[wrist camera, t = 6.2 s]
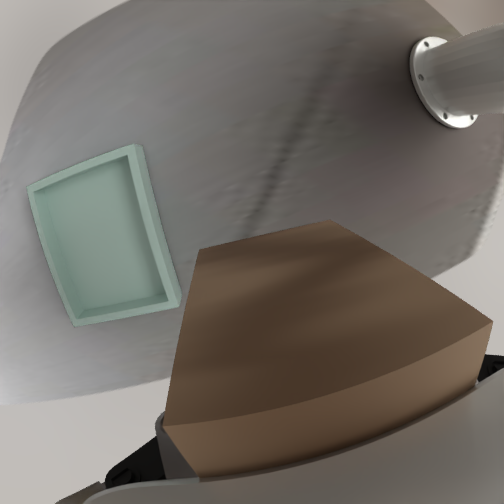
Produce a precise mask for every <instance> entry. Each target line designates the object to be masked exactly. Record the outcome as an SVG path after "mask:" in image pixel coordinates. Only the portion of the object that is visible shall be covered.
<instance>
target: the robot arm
mask: <svg viewBox="0 0 504 504" xmlns="http://www.w3.org/2000/svg"><path fill="white" fill-rule="evenodd" d="M410 72H411V77H412V81H413V84H414V86H415V89H416V92H417V94H418V96H419V98H420V100H421V101H422V103H423V104H424V106H425V107H426V109H427V110H428V111H429V112H430V114H431V115H432V116H433V117H434V118H436V119H437V120H438V121H439V122H440V123H442V124H444V125H445V126H448V127H450V128H456V129H458V128H466V127H469V126H470V125H471V124H473V123H474V121H475V120H476V118H477V116H478V115H482V114H498V113H504V22H503V23H500V24H497V25H494V26H491V27H487V28H484V29H481V30H479V31H476V32H472V33H470V34H467V35H464V36H461V37H459V38H456V39H454V40H451V41H446V40H444V39H442V38H439V37H432V36H431V37H426V38H424V39H421V40H420V41H418V42H417V43H416V44H415V45H414V47H413V48H412V51H411V55H410ZM164 414H165V411H164V412H163V413H162V414H161V415H160V416H159V417H158V418H157V420H156V423H155V430H156V435H157V436H155V437H154V438H153V439H151V440H150V441H149V442H147V443H146V444H145V445H143V446H142V447H141V448H139V449H138V450H137V451H135V452H134V453H132V454H131V455H130V456H128V457H127V458H125V459H124V460H123V461H121V462H120V463H118V464H117V465H115V466H114V467H113V468H112V469H111V470H110V471H109V472H108V474H107V475H106V478H105V482H104V483H100V482H99V481H98V482H96V483H94V484H92V485H90V486H88V487H86V488H84V489H82V490H80V491H78V492H76V493H74V494H72V495H70V496H68V497H66V498H63V499H61V500H59V501H58V502H56V503H55V504H504V356H499V355H486V354H485V355H484V359H483V362H482V365H481V369H480V372H479V375H478V378H477V381H476V383H475V386H474V387H473V388H471V389H470V390H468V391H466V392H465V393H463V394H461V395H460V396H458V397H456V398H455V399H453V400H451V401H449V402H448V403H446V404H444V405H442V406H440V407H439V408H437V409H435V410H433V411H431V412H429V413H427V414H425V415H423V416H421V417H419V418H417V419H415V420H413V421H411V422H409V423H407V424H404V425H402V426H400V427H398V428H396V429H393V430H391V431H389V432H386V433H384V434H382V435H379V436H377V437H374V438H372V439H369V440H366V441H364V442H361V443H358V444H355V445H353V446H350V447H347V448H344V449H341V450H338V451H335V452H331V453H328V454H325V455H321V456H318V457H314V458H311V459H307V460H303V461H299V462H295V463H291V464H287V465H282V466H278V467H273V468H268V469H263V470H258V471H252V472H246V473H239V474H232V475H225V476H216V477H206V478H199V477H198V475H197V474H196V473H195V471H194V470H193V469H192V468H191V466H190V465H189V464H188V462H187V461H186V460H185V458H184V457H183V455H182V454H181V453H180V451H179V450H178V448H177V447H176V446H175V444H174V443H173V441H172V440H171V438H170V437H169V435H168V434H167V432H166V431H165V429H164V428H163V420H164Z"/></svg>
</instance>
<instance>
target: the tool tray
mask: <svg viewBox="0 0 504 504" xmlns="http://www.w3.org/2000/svg"><path fill="white" fill-rule="evenodd" d="M26 188H27V193H28V197H29V202H30V206H31V210H32V214H33V217H34V221H35V225H36V228H37V232H38V235H39V238H40V242H41V245H42V248H43V251H44V254H45V257H46V260H47V263H48V266H49V268H50V271H51V274H52V277H53V279H54V282H55V284H56V287H57V290H58V292H59V294H60V297H61V299H62V302H63V304H64V306H65V309H66V311H67V313H68V315H69V318H70V320H71V322H72V324H73V326H74V327H78V326H83V325H89V324H95V323H100V322H106V321H111V320H116V319H122V318H127V317H132V316H137V315H142V314H147V313H152V312H157V311H162V310H167V309H172V308H176V307H179V305H180V302H181V298H182V291H181V288H180V285H179V282H178V279H177V275H176V272H175V269H174V266H173V262H172V259H171V256H170V252H169V249H168V245H167V242H166V238H165V235H164V231H163V228H162V224H161V220H160V217H159V213H158V209H157V205H156V201H155V197H154V193H153V189H152V185H151V181H150V177H149V173H148V168H147V164H146V160H145V155H144V151H143V146H142V145H138V144H131V145H128V146H125V147H122V148H119V149H116V150H113V151H110V152H107V153H105V154H102V155H99V156H97V157H94V158H91V159H89V160H86V161H84V162H81V163H79V164H76V165H74V166H71V167H69V168H67V169H64V170H62V171H60V172H57V173H55V174H53V175H51V176H48V177H46V178H44V179H42V180H40V181H38V182H35V183H33V184H31V185H29V186H27V187H26Z"/></svg>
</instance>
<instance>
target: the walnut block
mask: <svg viewBox="0 0 504 504" xmlns="http://www.w3.org/2000/svg"><path fill="white" fill-rule="evenodd" d="M492 324H493V321H492V320H491V319H489V318H488V317H486V316H485V315H483V314H482V313H481V312H479V311H478V310H477V309H475V308H474V307H472V306H471V305H469V304H468V303H466V302H465V301H463V300H462V299H460V298H459V297H457V296H456V295H454V294H453V293H451V292H450V291H448V290H447V289H445V288H444V287H442V286H441V285H439V284H438V283H436V282H435V281H433V280H431V279H430V278H428V277H427V276H425V275H424V274H422V273H420V272H419V271H417V270H416V269H414V268H412V267H411V266H409V265H408V264H406V263H404V262H403V261H401V260H399V259H398V258H396V257H394V256H393V255H391V254H389V253H388V252H386V251H384V250H383V249H381V248H379V247H378V246H376V245H374V244H372V243H371V242H369V241H367V240H365V239H364V238H362V237H360V236H358V235H357V234H355V233H353V232H351V231H350V230H348V229H346V228H344V227H342V226H341V225H339V224H337V223H335V222H333V221H331V220H327V221H322V222H317V223H313V224H308V225H304V226H299V227H295V228H291V229H286V230H282V231H277V232H273V233H268V234H264V235H260V236H255V237H251V238H246V239H242V240H238V241H233V242H229V243H225V244H221V245H216V246H212V247H208V248H204V249H199V252H198V256H197V261H196V265H195V269H194V273H193V277H192V281H191V286H190V290H189V294H188V299H187V303H186V307H185V312H184V316H183V321H182V326H181V330H180V335H179V340H178V345H177V350H176V355H175V360H174V365H173V370H172V375H171V381H170V386H169V391H168V397H167V403H166V408H165V414H164V420H163V428H164V429H165V431H166V432H167V434H168V435H169V437H170V438H171V440H172V441H173V443H174V444H175V446H176V447H177V448H178V450H179V451H180V453H181V454H182V455H183V457H184V458H185V460H186V461H187V462H188V464H189V465H190V466H191V468H192V469H193V470H194V471H195V473H196V474H197V475H198V477H199V478H206V477H216V476H225V475H232V474H239V473H246V472H252V471H258V470H263V469H268V468H273V467H278V466H282V465H287V464H291V463H295V462H299V461H303V460H307V459H311V458H314V457H318V456H321V455H325V454H328V453H331V452H335V451H338V450H341V449H344V448H347V447H350V446H353V445H355V444H358V443H361V442H364V441H366V440H369V439H372V438H374V437H377V436H379V435H382V434H384V433H386V432H389V431H391V430H393V429H396V428H398V427H400V426H402V425H404V424H407V423H409V422H411V421H413V420H415V419H417V418H419V417H421V416H423V415H425V414H427V413H429V412H431V411H433V410H435V409H437V408H439V407H440V406H442V405H444V404H446V403H448V402H449V401H451V400H453V399H455V398H456V397H458V396H460V395H461V394H463V393H465V392H466V391H468V390H470V389H471V388H473V387H474V386H475V383H476V381H477V378H478V375H479V372H480V369H481V365H482V362H483V359H484V355H485V351H486V348H487V344H488V341H489V337H490V333H491V329H492Z"/></svg>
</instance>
